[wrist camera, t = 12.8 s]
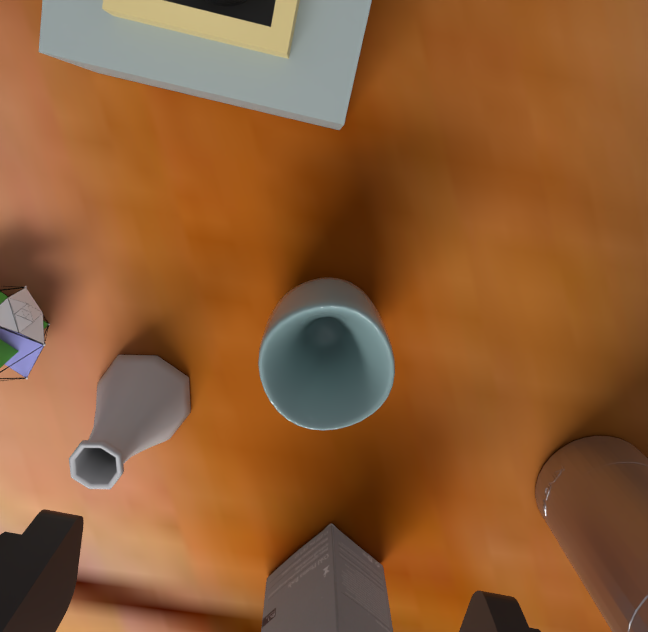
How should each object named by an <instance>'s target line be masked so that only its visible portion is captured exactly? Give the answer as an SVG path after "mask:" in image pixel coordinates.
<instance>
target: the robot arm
mask: <svg viewBox="0 0 648 632" xmlns="http://www.w3.org/2000/svg"><path fill="white" fill-rule="evenodd" d="M535 498H536V502H537V506H538V509H539V510H540V512H541V514H542V516H543V518H544V519H545V521H546V523H547V524H548V526H549V528H550V529H551V531H552V533H553V534H554V536H555V537H556V539H557V541H558V542H559V544H560V546H561V548H562V549H563V551H564V553H565V554H566V556H567V558H568V559H569V561H570V563H571V564H572V566H573V568H574V569H575V571H576V572H577V574H578V576H579V577H580V579H581V581H582V582H583V584H584V586H585V587H586V589H587V591H588V592H589V594H590V595H591V597H592V599H593V600H594V602H595V604H596V605H597V607H598V609H599V610H600V612H601V614H602V615H603V617H604V619H605V620H606V622H607V623H608V625H609V627H610V628H611V630H612V632H648V458H647V457H646V456H645V455H644V454H643V453H641V452H640V451H639V450H638V449H637V448H636V447H634V446H633V445H632V444H630V443H628V442H626V441H624V440H622V439H620V438H615V437H611V436H592V437H586V438H582V439H579V440H576V441H573V442H571V443H569V444H567V445H566V446H564V447H562V448H561V449H559V450H558V451H557V452H556V453H555V454H553V455H552V456H551V457H550V458H549V460H548V461H547V462H546V463H545V465H544V466H543V468H542V470H541V472H540V474H539V476H538V479H537V483H536V491H535ZM82 532H83V517H82V516H77V515H72V514H66V513H61V512H56V511H50V510H42V511H41V512H39V514H38V515H37V516H36V517H35V519H34V520H33V521H32V522H31V524H30V525H29V526H28V528H27V529H26V530H25V532H24V533H23V534H22V535H20V534H15V533H9V532H4V533H2V534H1V535H0V632H56V630H57V628H58V626H59V624H60V623H61V621H62V619H63V617H64V615H65V613H66V611H67V609H68V607H69V604H70V601H71V599H72V596H73V592H74V589H75V585H76V580H77V573H78V565H79V556H80V548H81V540H82ZM459 632H541V631H540V630H539V629H534V628H529V626H528V624H527V622H526V619H525V617H524V615H523V612H522V610H521V608H520V606H519V603H518V602H517V600H516V599H515V598H514V597H511V596H505V595H500V594H494V593H489V592H483V591H476V592H475V593H474V594H473V596H472V598H471V601H470V603H469V606H468V609H467V612H466V614H465V617H464V620H463V623H462V625H461V628H460V631H459Z"/></svg>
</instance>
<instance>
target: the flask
mask: <svg viewBox="0 0 648 632" xmlns="http://www.w3.org/2000/svg"><path fill="white" fill-rule="evenodd" d="M190 413H191V407H190V387H189V377H188V376H186V375H185V374H183V373H182V372H180V371H179V370H177V369H176V368H175V367H173V366H172V365H170V364H169V363H167V362H166V361H164V360H163V359H161V358H160V357H159V356H157V355H118V356H117V357H116V358H115V360H114V361H113V363H112V364H111V365H110V367H109V368H108V369H107V371H106V372H105V374H104V375H103V376H102V378H101V379H100V381H99V382H98V385H97V399H96V412H95V420H94V428H93V430H92V433H91V435H90V437H89V440H83V441H82V442H81V443H80V444H79V446H78V447H77V448H76V450H75V451H74V452H73V454H72V455H71V457H70V458H69V463H70V472H71V478H73V479H74V480H76V481H78V482H79V483H81V484H82V485H84V486H86V487H87V488H89V489H111V488H112V487H113V485H114V484H115V483H116V482H117V480H118V479H119V478H120V476H121V475H122V474H123V472H124V467H123V464H124V463H125V462H126V461H127V460H128V459H129V458H130V457H131V456H133V455H135V454H137V453H139V452H141V451H143V450H145V449H147V448H149V447H152V446H154V445H157V444H159V443H162V442H164V441H166V440H168V439H170V438H171V437H172V436H173V434H174V433H175V432H176V430H177V429H178V428H179V427H180V425H181V424H182V423H183V421H184V420H185V419H186V418H187V416H188V415H189V414H190Z"/></svg>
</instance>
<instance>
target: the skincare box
mask: <svg viewBox="0 0 648 632" xmlns="http://www.w3.org/2000/svg"><path fill="white" fill-rule="evenodd" d="M261 632H393V628H392V621H391V615H390V608H389V602H388V595H387V589H386V582H385V576H384V570H383V566H382V565H381V564H380V563H379V562H377V561H376V560H375V559H374V558H373V557H371V556H370V555H369V554H368V553H366V552H365V551H364V550H363V549H361V548H360V547H359V546H358V545H356V544H355V543H354V542H353V541H352V540H351V539H349V538H348V537H347V536H346V535H344V534H343V533H342V532H341V531H340V530H338V528H336V527H335V526H334V525H333V524H332V523H330V524H329V525H328V526H327V527H326V528H325V529H324V530H323V531H322V532H320V533H319V534H318V535H316V536H315V537H314V538H313V539H312V540H310V541H309V542H308V543H306V544H305V545H304V546H303V547H302V548H300V549H299V550H298V551H297V552H296V553H294V554H293V555H292V556H291V557H290V558H289V559H287V560H286V561H285V562H284V563H283V564H282V565H281V566H280V567H278V568H277V569H276V570H275V571H274V572H273V573H272V574H271V575H270V576H269V577H268V578H267V582H266V591H265V601H264V611H263V620H262V630H261Z"/></svg>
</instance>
